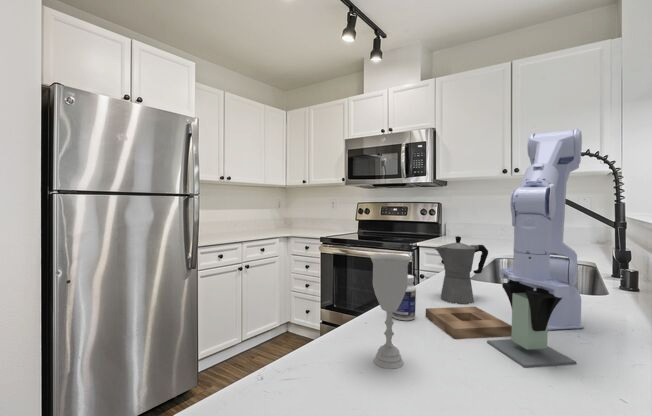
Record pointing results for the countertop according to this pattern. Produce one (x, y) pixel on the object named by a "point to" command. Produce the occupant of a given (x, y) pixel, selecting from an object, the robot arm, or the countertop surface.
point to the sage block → (525, 325)
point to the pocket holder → (468, 322)
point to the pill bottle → (407, 302)
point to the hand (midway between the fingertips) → (529, 325)
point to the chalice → (389, 300)
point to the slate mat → (530, 354)
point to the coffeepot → (459, 270)
